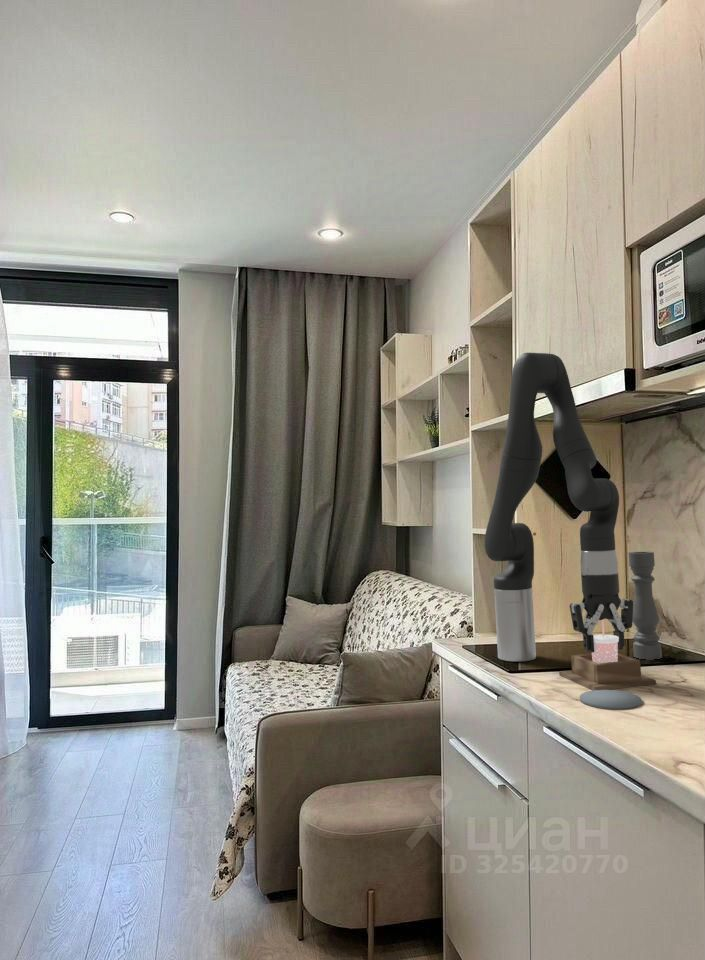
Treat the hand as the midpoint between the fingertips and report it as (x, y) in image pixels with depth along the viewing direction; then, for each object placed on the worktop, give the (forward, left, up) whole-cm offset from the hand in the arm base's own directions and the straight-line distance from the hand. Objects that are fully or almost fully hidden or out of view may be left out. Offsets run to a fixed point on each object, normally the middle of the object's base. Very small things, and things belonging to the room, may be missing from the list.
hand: (604, 650), depth 145 cm
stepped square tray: (0, 0, -6) cm, 6 cm away
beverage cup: (0, 0, -6) cm, 6 cm away
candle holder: (-14, +20, -6) cm, 25 cm away
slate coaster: (+14, -8, -6) cm, 17 cm away
